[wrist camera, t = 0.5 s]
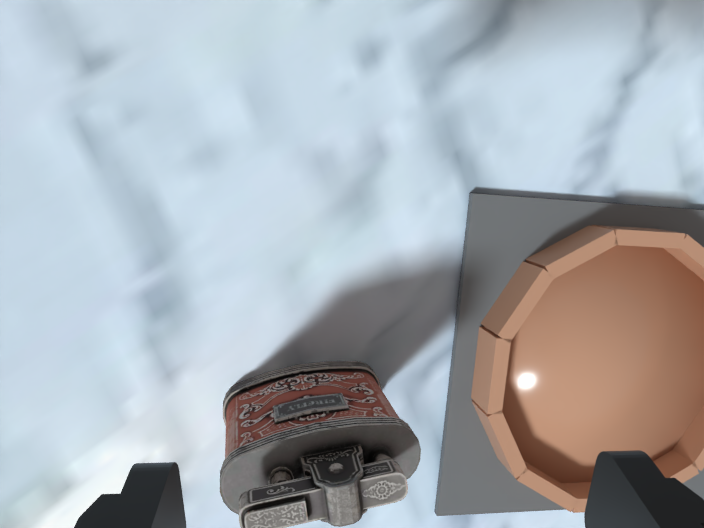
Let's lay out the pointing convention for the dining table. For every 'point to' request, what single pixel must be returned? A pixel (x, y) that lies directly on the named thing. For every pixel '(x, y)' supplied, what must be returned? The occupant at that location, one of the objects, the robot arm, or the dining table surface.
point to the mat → (473, 305)
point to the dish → (596, 359)
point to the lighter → (313, 446)
